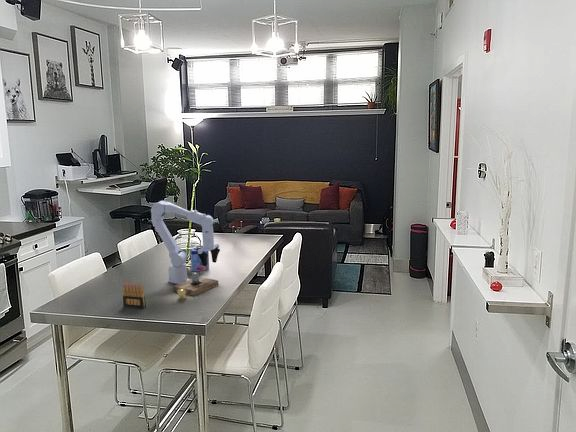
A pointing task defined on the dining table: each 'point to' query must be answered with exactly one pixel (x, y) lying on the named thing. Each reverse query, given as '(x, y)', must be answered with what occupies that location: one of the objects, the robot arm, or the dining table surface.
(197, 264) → the ink cartridge box
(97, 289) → the dining table surface
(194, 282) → the tall pin
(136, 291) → the ammunition clip
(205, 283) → the hole board
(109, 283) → the dining table surface
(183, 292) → the short pin
